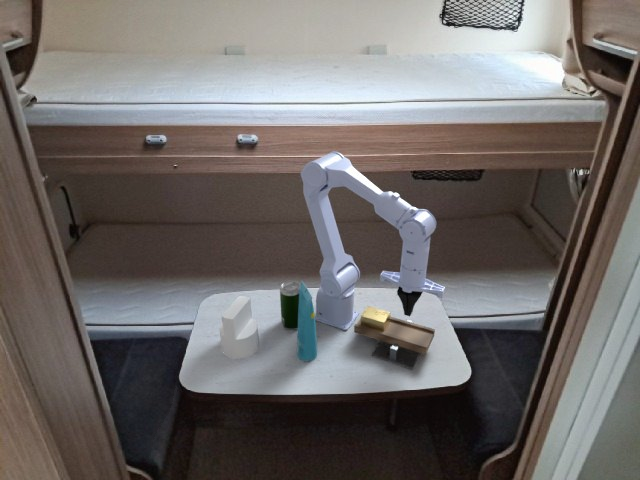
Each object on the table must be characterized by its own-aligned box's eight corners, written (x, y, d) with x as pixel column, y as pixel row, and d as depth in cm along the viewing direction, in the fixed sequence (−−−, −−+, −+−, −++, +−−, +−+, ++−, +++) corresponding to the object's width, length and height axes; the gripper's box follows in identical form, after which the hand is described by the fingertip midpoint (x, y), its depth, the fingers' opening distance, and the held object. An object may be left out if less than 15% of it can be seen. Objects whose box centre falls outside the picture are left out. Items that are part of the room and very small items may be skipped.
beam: (353, 335, 116) (353, 327, 115) (366, 316, 122) (366, 308, 121) (424, 358, 108) (425, 349, 107) (434, 336, 115) (435, 327, 114)
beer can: (288, 333, 120) (286, 295, 114) (277, 322, 124) (275, 284, 118) (306, 326, 122) (305, 288, 117) (295, 315, 126) (294, 278, 121)
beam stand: (371, 356, 113) (372, 343, 111) (390, 324, 123) (391, 313, 121) (412, 369, 109) (413, 357, 107) (427, 336, 119) (429, 324, 117)
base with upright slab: (233, 330, 121) (228, 292, 115) (265, 338, 118) (262, 299, 112) (215, 353, 113) (209, 314, 108) (248, 362, 111) (244, 322, 105)
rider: (360, 325, 116) (360, 315, 114) (367, 315, 119) (367, 306, 118) (383, 332, 113) (384, 322, 112) (389, 322, 117) (390, 312, 115)
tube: (322, 361, 111) (322, 294, 102) (304, 367, 109) (302, 300, 100) (309, 342, 117) (308, 277, 108) (291, 347, 115) (289, 282, 106)
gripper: (376, 264, 104) (373, 313, 110) (441, 281, 98) (434, 332, 104) (387, 250, 109) (383, 297, 116) (450, 265, 103) (442, 314, 110)
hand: (408, 313), depth 110 cm, fingers closed
